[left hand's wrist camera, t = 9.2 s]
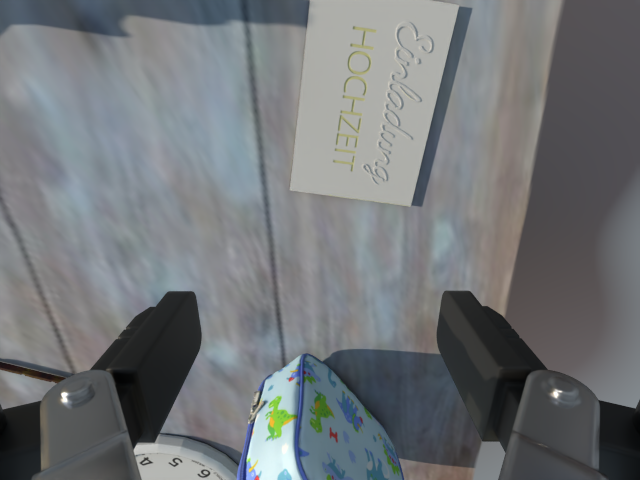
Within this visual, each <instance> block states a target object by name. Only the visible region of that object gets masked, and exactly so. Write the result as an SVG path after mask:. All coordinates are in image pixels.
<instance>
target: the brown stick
mask: <svg viewBox="0 0 640 480" xmlns="http://www.w3.org/2000/svg"><path fill="white" fill-rule="evenodd" d="M0 370H4V371H8V372H12V373H16V374H24V375H25V376H29V377H32V378H36V379H40V380H45V381H49V382H51V381H53V382H55V383H59V382H61V381H62V380H64V379H66V378H64V377H60V376H55V375H51V374H47V373H43V372H39V371H35V370H31V369H27V368H23V367H19V366H15V365H11V364H7V363H2V362H0Z"/></svg>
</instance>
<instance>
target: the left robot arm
mask: <svg viewBox="0 0 640 480" xmlns="http://www.w3.org/2000/svg"><path fill="white" fill-rule="evenodd" d="M201 337H202V335H201V326H200V320H199V313H198V306H197V300H196V295H195V293H194V292H192V291H169V292H167V293H166V294H165V296H164V297H163V298H162V299H161V301H160V302H159V303H158V304H157V306H156V307H149V308H148V309H146V310H145V311H143V312H142V313H140V314H139V315H137V316H136V317H135V318H134V319H133V320H132V321H131V322H130V324H129V325H128V326H127V327H126V330H124V331H123V332H122V333H121V334H120V335H119V336H118V339H116V340H115V341H114V342H113V343H112V345H111V346H110V347H109V348H108V349H107V351H106V352H105V353H104V354H103V355H102V356H101V358H100V359H99V360H98V361H97V362H96V363H95V365H94V366H93V367H92V368H91V369H90V370H89V371H84V372H80V373H77V374H75V375H72V376H70V377H68V378H66V379H64V380H62V381H61V382H59V383H58V384H56V385H55V386H53V387H52V388H51V389H50V390H49V391H48V392H47V393H46V394H45V396H44V397H43V399H42V401H38V402H34V403H30V404H25V405H21V406H17V407H12V408H8V409H2V407H1V405H0V480H142V479H141V475H140V472H139V468H138V465H137V461H136V457H135V454H134V449H135V447H136V445H137V443H155V441H156V439H157V437H158V435H159V433H160V431H161V429H162V427H163V425H164V423H165V421H166V418H167V416H168V414H169V412H170V410H171V408H172V406H173V404H174V402H175V400H176V398H177V396H178V394H179V392H180V389H181V387H182V385H183V383H184V381H185V379H186V377H187V375H188V373H189V371H190V369H191V367H192V365H193V363H194V360H195V358H196V356H197V354H198V352H199V349H200V346H201ZM437 344H438V348H439V351H440V353H441V355H442V357H443V359H444V362H445V364H446V366H447V368H448V370H449V372H450V374H451V376H452V378H453V380H454V383H455V385H456V387H457V389H458V391H459V393H460V395H461V397H462V399H463V401H464V404H465V406H466V408H467V410H468V412H469V414H470V416H471V418H472V420H473V422H474V424H475V427H476V429H477V431H478V433H479V435H480V437H481V439H482V441H500V443H501V445H502V447H503V449H504V451H505V453H506V454H505V458H504V461H503V465H502V468H501V472H500V475H499V479H498V480H640V400H639V403H638V405H637V407H636V409H635V408H630V407H626V406H622V405H617V404H613V403H609V402H604V401H600V400H598V399H597V397H596V396H595V394H594V393H593V392H592V391H591V390H590V389H589V388H588V387H587V386H585V385H584V384H582V383H581V382H579V381H578V380H576V379H574V378H572V377H570V376H568V375H565V374H563V373H560V372H556V371H551V370H548V369H547V368H546V367H545V366H544V365H543V363H542V362H541V361H540V360H539V359H538V358H537V356H536V355H535V354H534V353H533V352H532V350H531V349H530V348H529V347H528V346H527V345H526V343H525V342H524V341H523V340H522V339H521V338H519V335H518V334H517V333H516V332H515V330H514V329H512V328H511V326H510V324H509V323H508V322H507V321H506V320H505V319H504V317H503V316H502V315H500V314H499V313H497V312H496V311H494V310H493V309H491V308H489V307H488V306H482V305H481V304H480V303H479V302H478V300H477V299H476V298H475V296H474V295H473V294H472V293H471V292H470V291H445V292H444V293H443V295H442V300H441V307H440V314H439V320H438V327H437Z"/></svg>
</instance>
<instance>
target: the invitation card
mask: <svg viewBox="0 0 640 480" xmlns="http://www.w3.org/2000/svg"><path fill="white" fill-rule="evenodd" d="M458 9H459V5H456V4H450V3H444V2H438V1H432V0H310V5H309V14H308V24H307V33H306V42H305V52H304V61H303V71H302V80H301V90H300V99H299V109H298V118H297V128H296V137H295V147H294V156H293V165H292V175H291V184H290V190H291V191H298V192H306V193H314V194H321V195H329V196H336V197H344V198H351V199H359V200H366V201H374V202H381V203H389V204H396V205H404V206H411V203H412V199H413V195H414V191H415V187H416V183H417V179H418V174H419V170H420V166H421V162H422V158H423V154H424V150H425V145H426V141H427V137H428V133H429V129H430V125H431V121H432V116H433V112H434V108H435V104H436V100H437V96H438V92H439V87H440V83H441V79H442V75H443V71H444V67H445V63H446V58H447V54H448V50H449V46H450V42H451V38H452V34H453V29H454V25H455V21H456V17H457V13H458Z"/></svg>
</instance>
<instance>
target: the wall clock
mask: <svg viewBox="0 0 640 480" xmlns="http://www.w3.org/2000/svg"><path fill="white" fill-rule="evenodd" d="M134 454H135V457H136V461H137V465H138V468H139V472H140V475H141V479H142V480H237V473H238V467H239V466H238V465H237V464H236V463H235V462H234V461H232V460H231V459H230V458H229V457H228V456H227V455H225V454H224V453H222V452H220V451H218V450H216V449H215V448H213V447H211V446H209V445H207V444H204V443H201V442H198V441H195V440H192V439H189V438H186V437H180V436H172V435H164V434H159V435H158V437H157V439H156V441H155V443H137V445H136V447H135V449H134Z"/></svg>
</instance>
